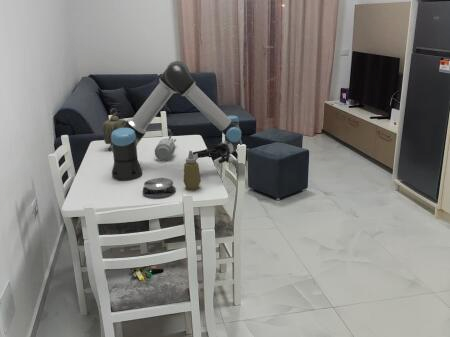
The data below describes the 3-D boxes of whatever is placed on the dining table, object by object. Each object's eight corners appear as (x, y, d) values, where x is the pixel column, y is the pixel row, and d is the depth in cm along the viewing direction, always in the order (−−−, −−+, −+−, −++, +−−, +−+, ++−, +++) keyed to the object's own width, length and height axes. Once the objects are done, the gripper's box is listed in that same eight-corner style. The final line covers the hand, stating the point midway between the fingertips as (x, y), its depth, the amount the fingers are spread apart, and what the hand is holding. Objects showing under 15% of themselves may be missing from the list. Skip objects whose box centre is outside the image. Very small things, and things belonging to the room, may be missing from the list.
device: (172, 161, 240) (171, 144, 237) (154, 161, 240) (153, 144, 237) (179, 146, 269) (178, 130, 266) (163, 146, 269) (162, 131, 266)
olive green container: (117, 144, 275) (113, 105, 267) (130, 145, 272) (126, 106, 264) (105, 151, 262) (100, 110, 254) (118, 152, 259) (113, 111, 251)
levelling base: (140, 199, 191) (139, 189, 189) (145, 186, 205) (144, 177, 203) (174, 197, 191) (173, 188, 190) (177, 185, 205) (176, 176, 204)
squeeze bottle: (189, 192, 197) (187, 154, 191) (180, 187, 203) (178, 150, 197) (204, 188, 201) (202, 151, 195) (195, 183, 207) (193, 147, 201)
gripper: (245, 159, 220) (225, 172, 202) (203, 153, 231) (180, 165, 213) (245, 145, 217) (224, 157, 200) (202, 140, 229) (180, 151, 211)
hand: (202, 161), depth 206 cm, fingers open, 13 cm apart
